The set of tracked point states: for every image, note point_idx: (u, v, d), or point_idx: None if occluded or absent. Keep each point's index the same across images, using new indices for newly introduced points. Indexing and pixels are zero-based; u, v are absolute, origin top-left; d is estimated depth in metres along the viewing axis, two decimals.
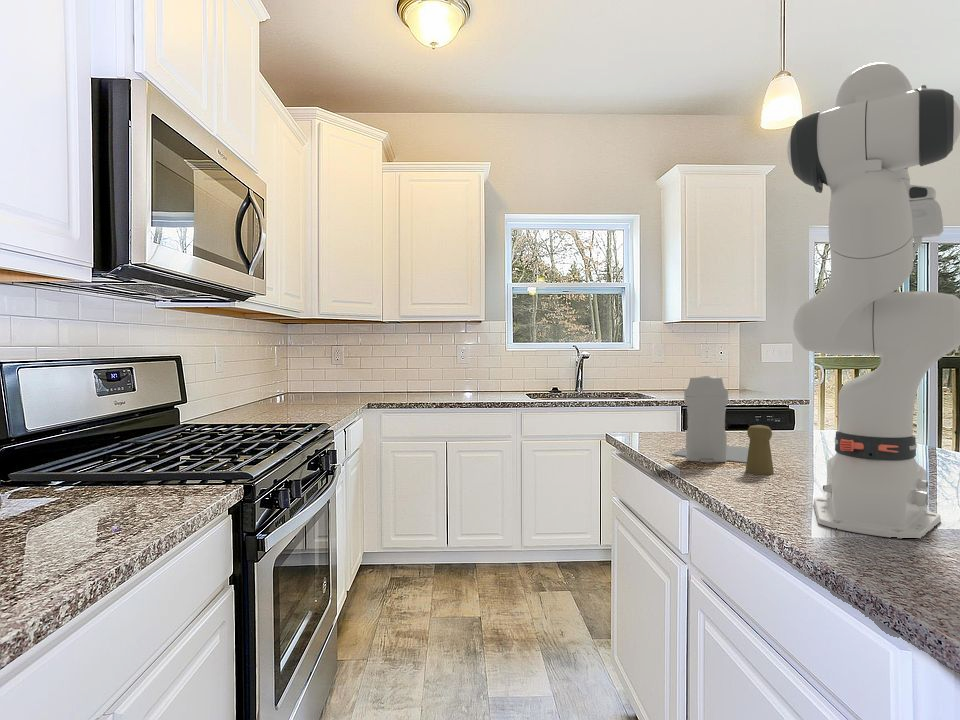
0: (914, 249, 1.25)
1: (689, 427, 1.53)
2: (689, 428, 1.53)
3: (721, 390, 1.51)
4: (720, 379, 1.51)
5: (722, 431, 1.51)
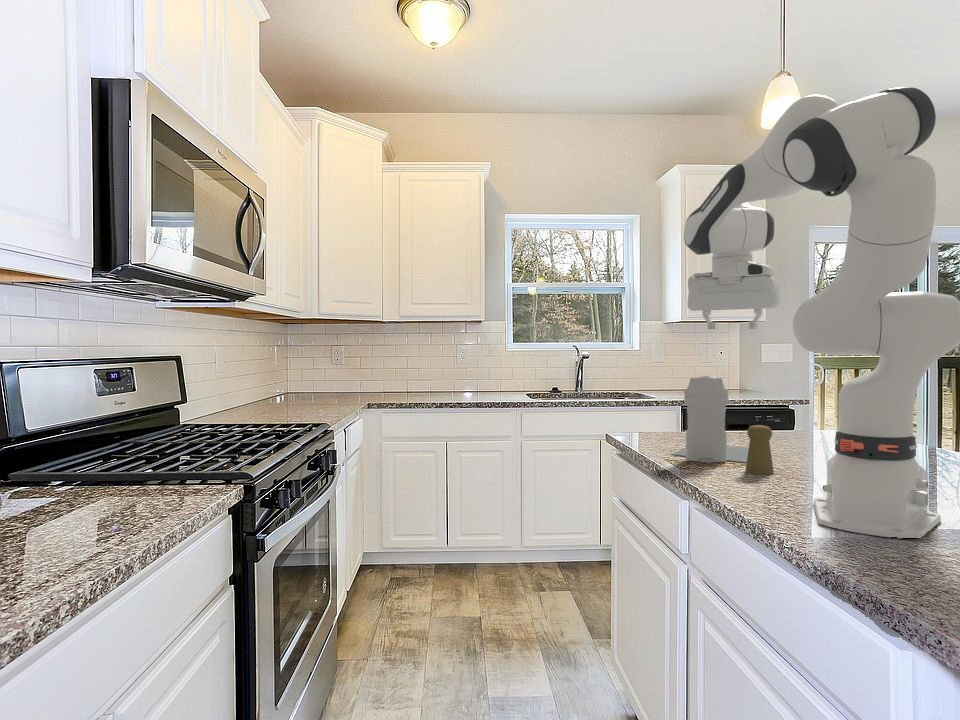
0: (754, 319, 1.38)
1: (689, 427, 1.53)
2: (689, 428, 1.53)
3: (721, 390, 1.51)
4: (720, 379, 1.51)
5: (722, 431, 1.51)
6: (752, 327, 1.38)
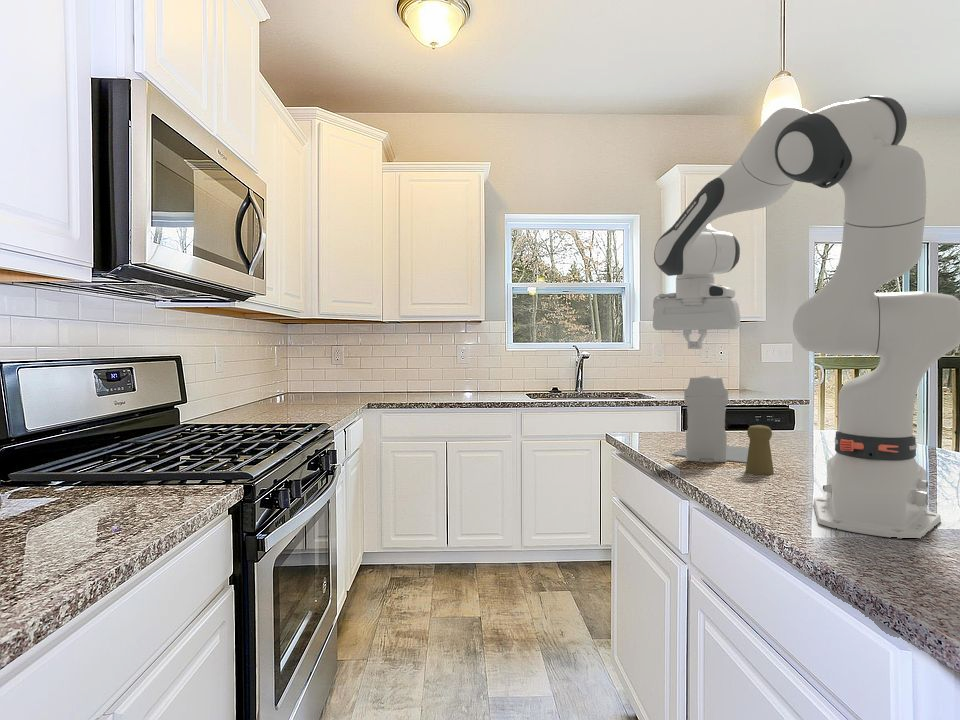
0: (699, 340, 1.44)
1: (689, 427, 1.53)
2: (689, 428, 1.53)
3: (721, 390, 1.51)
4: (720, 379, 1.51)
5: (722, 431, 1.51)
6: (697, 347, 1.44)
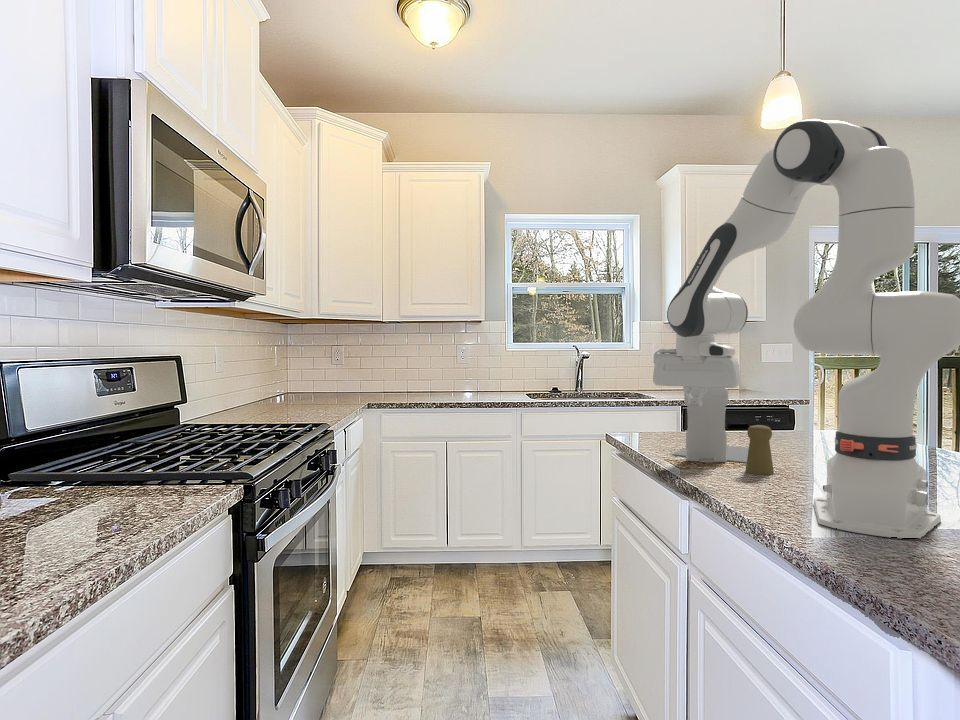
0: (699, 397, 1.44)
1: (689, 427, 1.53)
2: (689, 428, 1.53)
3: (721, 390, 1.51)
4: None
5: (722, 431, 1.51)
6: (697, 404, 1.45)
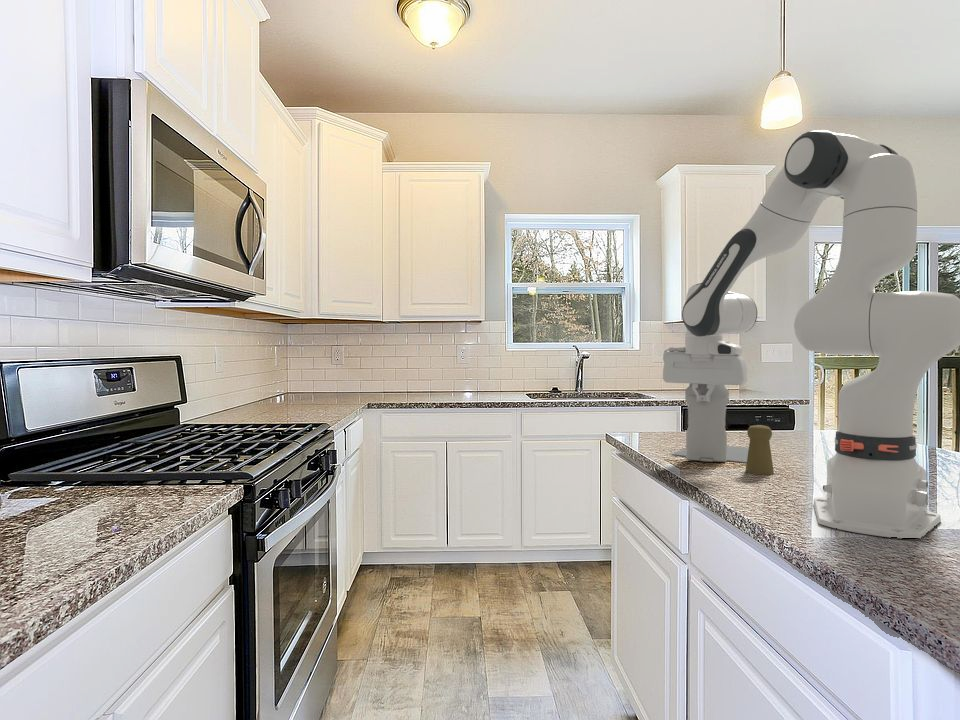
0: (707, 394, 1.50)
1: (689, 426, 1.54)
2: (689, 427, 1.54)
3: (722, 389, 1.52)
4: None
5: (722, 431, 1.52)
6: (705, 401, 1.50)
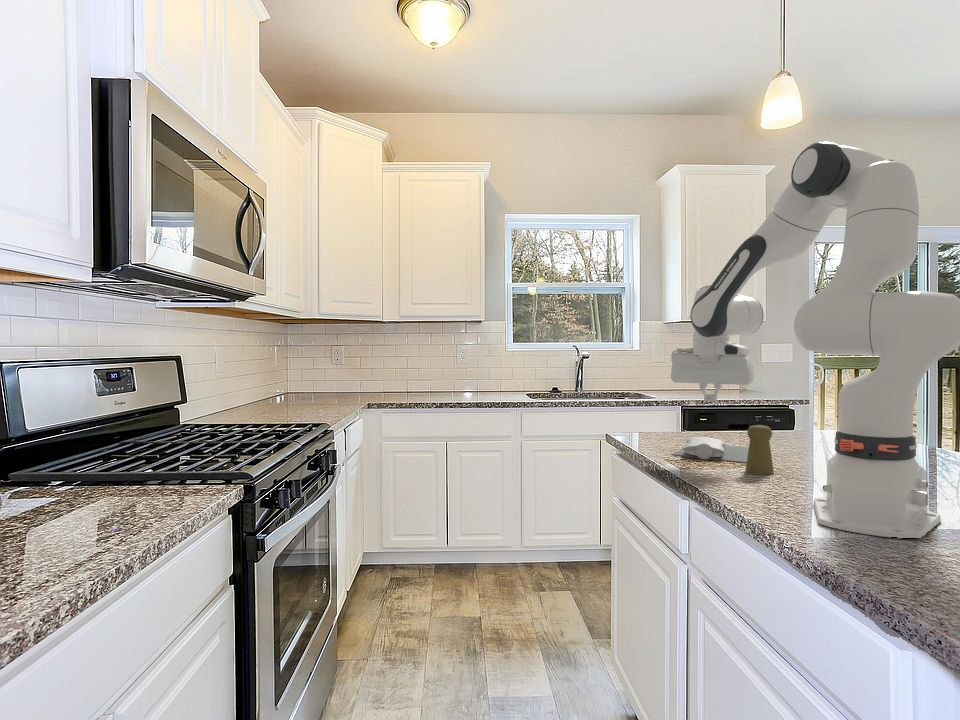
0: (714, 393, 1.54)
1: (689, 443, 1.65)
2: (689, 443, 1.65)
3: None
4: None
5: (720, 445, 1.61)
6: (712, 400, 1.55)
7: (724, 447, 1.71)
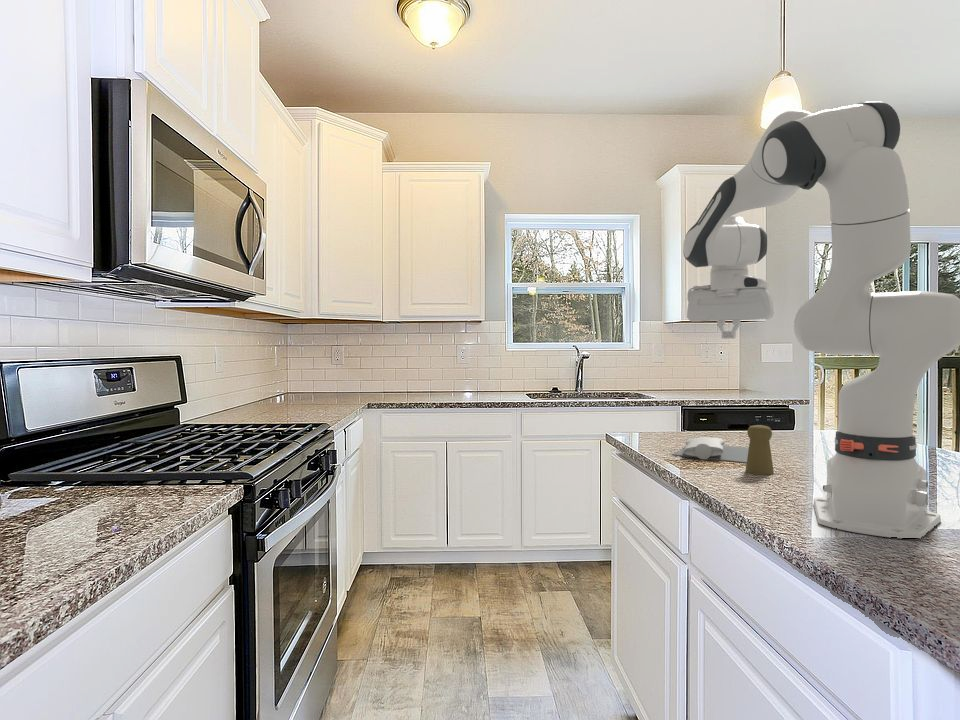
0: (733, 330, 1.49)
1: None
2: None
3: (718, 438, 1.71)
4: None
5: (718, 443, 1.61)
6: (731, 337, 1.49)
7: (724, 447, 1.71)
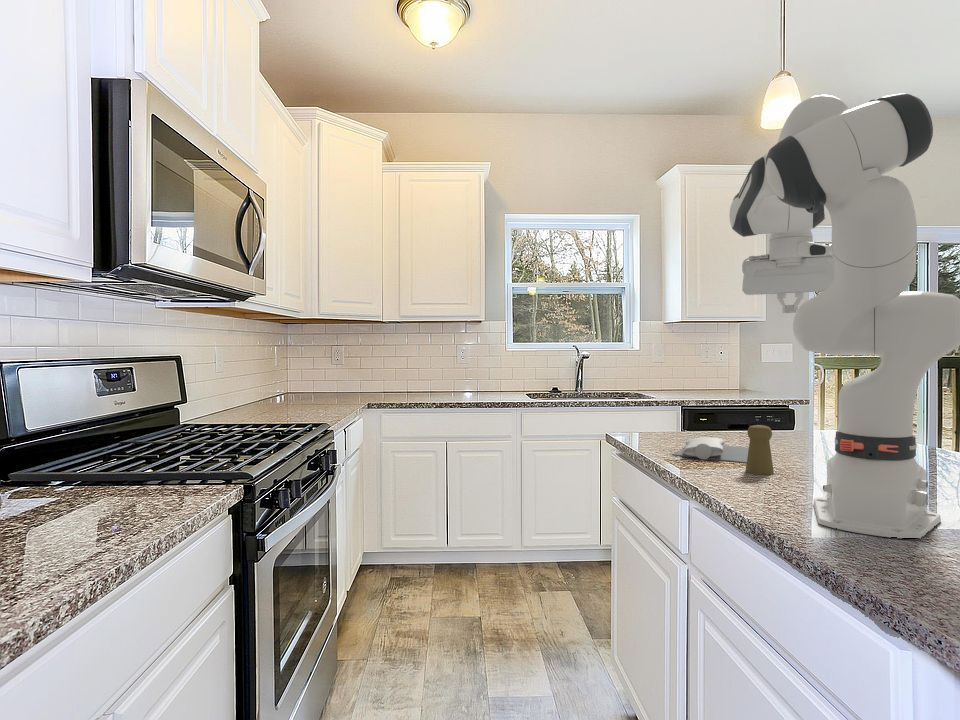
0: (795, 303, 1.35)
1: None
2: None
3: (718, 438, 1.71)
4: None
5: (718, 443, 1.61)
6: (793, 311, 1.36)
7: (724, 447, 1.71)
